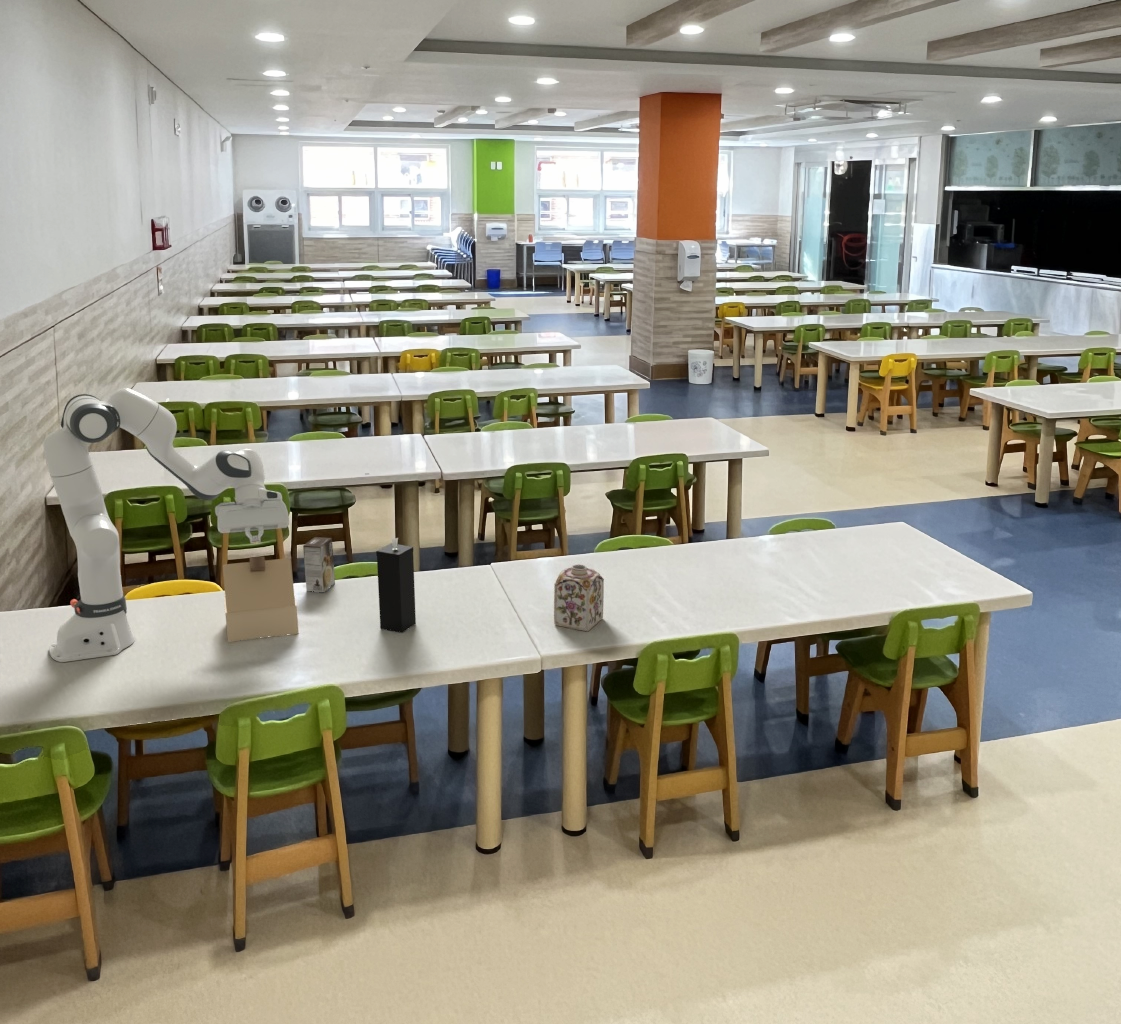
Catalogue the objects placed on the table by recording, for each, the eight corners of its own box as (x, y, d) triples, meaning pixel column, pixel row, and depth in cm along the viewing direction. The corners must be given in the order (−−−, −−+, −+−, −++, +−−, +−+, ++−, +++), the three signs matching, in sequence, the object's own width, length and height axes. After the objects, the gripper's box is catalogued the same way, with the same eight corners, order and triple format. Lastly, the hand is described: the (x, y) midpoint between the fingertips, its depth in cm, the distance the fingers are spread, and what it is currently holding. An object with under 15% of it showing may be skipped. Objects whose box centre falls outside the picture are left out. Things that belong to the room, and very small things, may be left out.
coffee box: (317, 581, 359) (314, 536, 354) (335, 583, 358) (332, 537, 353) (305, 591, 351) (302, 545, 346) (324, 593, 349) (321, 546, 345)
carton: (228, 641, 313) (225, 613, 310) (226, 623, 325) (224, 595, 323) (298, 633, 318) (296, 605, 316) (294, 616, 331) (292, 588, 329)
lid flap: (226, 613, 310) (226, 609, 302) (222, 565, 312) (221, 560, 304) (295, 605, 316) (296, 601, 307) (290, 558, 318) (291, 553, 310)
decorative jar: (552, 625, 325) (553, 569, 320) (569, 612, 335) (569, 557, 330) (589, 632, 321) (589, 575, 315) (604, 618, 331) (605, 563, 325)
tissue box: (416, 624, 326) (413, 536, 318) (402, 633, 319) (398, 544, 311) (394, 619, 329) (390, 532, 321) (379, 628, 322) (375, 540, 314)
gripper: (213, 498, 312) (217, 540, 306) (286, 492, 318) (291, 534, 312) (215, 508, 317) (218, 550, 311) (286, 503, 323) (291, 544, 317)
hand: (255, 542), depth 311 cm, fingers closed
